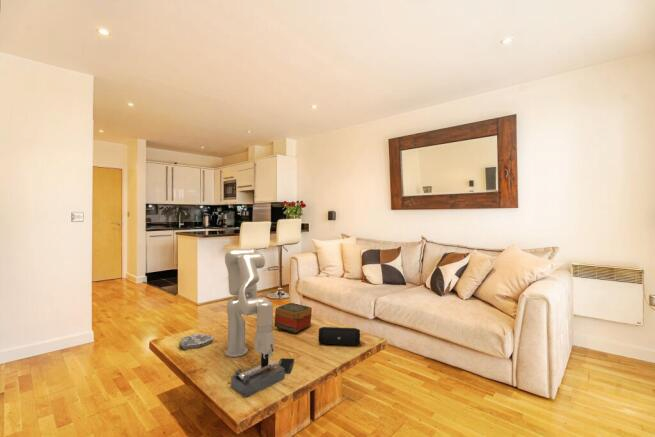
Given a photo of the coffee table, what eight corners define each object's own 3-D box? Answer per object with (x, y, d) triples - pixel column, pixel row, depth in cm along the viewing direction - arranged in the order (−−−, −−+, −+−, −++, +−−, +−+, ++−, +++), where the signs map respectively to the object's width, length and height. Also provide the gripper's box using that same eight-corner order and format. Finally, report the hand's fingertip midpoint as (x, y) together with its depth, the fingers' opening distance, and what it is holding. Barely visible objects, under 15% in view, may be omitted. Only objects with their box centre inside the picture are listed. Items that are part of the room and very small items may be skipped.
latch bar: (243, 381, 137) (243, 376, 137) (237, 377, 140) (237, 372, 140) (276, 366, 151) (276, 362, 151) (270, 362, 154) (270, 358, 154)
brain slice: (205, 336, 202) (205, 331, 202) (216, 343, 190) (216, 339, 190) (173, 344, 188) (173, 339, 188) (183, 353, 176) (183, 348, 176)
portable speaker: (318, 346, 188) (318, 330, 188) (319, 339, 198) (319, 324, 198) (359, 348, 186) (360, 331, 186) (359, 341, 196) (359, 326, 196)
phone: (274, 372, 155) (280, 358, 170) (274, 374, 155) (280, 360, 170) (290, 372, 154) (294, 358, 169) (290, 374, 155) (294, 360, 169)
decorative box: (271, 330, 214) (271, 308, 212) (292, 319, 232) (292, 298, 230) (294, 339, 203) (293, 315, 201) (314, 326, 221) (314, 304, 219)
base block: (245, 397, 134) (245, 379, 134) (231, 387, 142) (231, 369, 142) (284, 378, 150) (284, 362, 150) (269, 369, 158) (269, 354, 158)
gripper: (249, 326, 150) (249, 363, 150) (267, 333, 140) (267, 373, 140) (262, 322, 156) (261, 358, 156) (280, 329, 146) (280, 368, 146)
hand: (264, 365), depth 148 cm, fingers closed
